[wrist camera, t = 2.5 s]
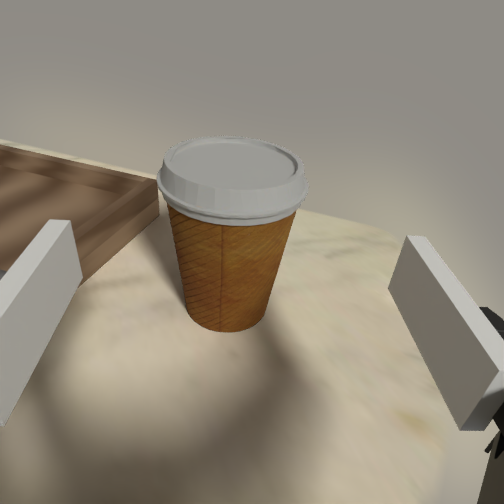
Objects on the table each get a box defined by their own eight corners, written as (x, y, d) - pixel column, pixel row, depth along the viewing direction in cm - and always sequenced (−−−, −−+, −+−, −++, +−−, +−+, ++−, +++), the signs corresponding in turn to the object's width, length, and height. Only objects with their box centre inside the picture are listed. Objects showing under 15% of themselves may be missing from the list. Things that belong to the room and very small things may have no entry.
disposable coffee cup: (213, 254, 36) (217, 124, 29) (306, 295, 32) (335, 158, 25) (138, 312, 29) (119, 160, 22) (244, 373, 25) (262, 213, 18)
